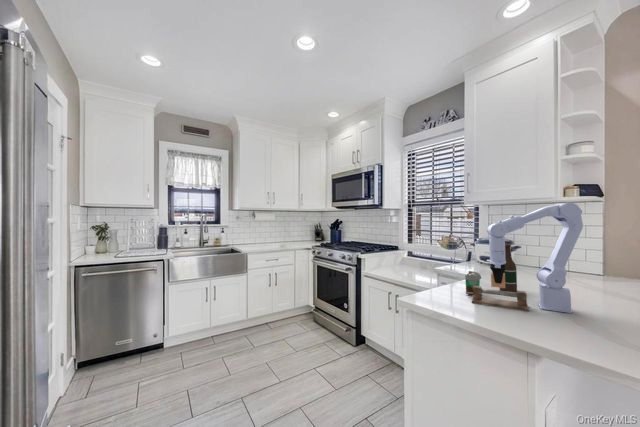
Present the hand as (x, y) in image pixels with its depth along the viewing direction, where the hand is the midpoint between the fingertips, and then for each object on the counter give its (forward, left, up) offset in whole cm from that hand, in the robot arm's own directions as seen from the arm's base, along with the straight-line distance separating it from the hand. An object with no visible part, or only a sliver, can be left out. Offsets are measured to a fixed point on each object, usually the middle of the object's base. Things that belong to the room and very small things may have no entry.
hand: (498, 281), depth 113 cm
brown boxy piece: (0, 0, -10) cm, 10 cm away
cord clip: (0, 0, -2) cm, 2 cm away
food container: (+10, -12, -10) cm, 19 cm away
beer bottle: (-4, -26, -10) cm, 28 cm away
